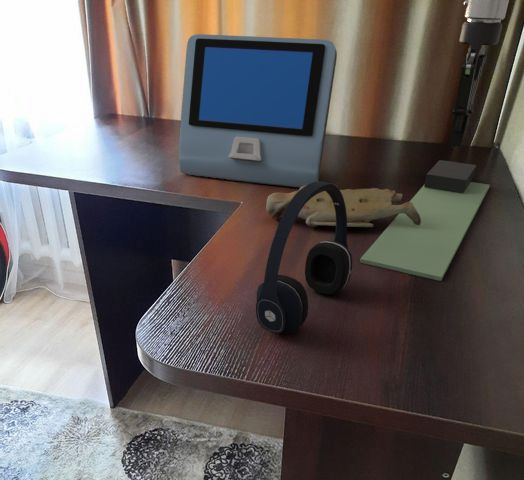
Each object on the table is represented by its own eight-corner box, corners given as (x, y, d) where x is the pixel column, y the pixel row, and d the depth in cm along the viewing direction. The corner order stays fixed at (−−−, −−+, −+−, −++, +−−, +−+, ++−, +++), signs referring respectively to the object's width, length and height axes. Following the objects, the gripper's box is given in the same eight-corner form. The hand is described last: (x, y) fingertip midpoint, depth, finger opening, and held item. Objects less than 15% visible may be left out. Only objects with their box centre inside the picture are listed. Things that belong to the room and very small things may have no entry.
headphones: (316, 277, 83) (326, 163, 73) (354, 288, 80) (371, 171, 70) (247, 332, 70) (246, 202, 59) (289, 348, 67) (297, 214, 56)
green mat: (489, 188, 123) (490, 184, 122) (441, 281, 83) (442, 277, 82) (431, 178, 128) (431, 175, 127) (359, 262, 88) (360, 258, 88)
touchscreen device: (176, 177, 125) (167, 34, 109) (207, 159, 141) (203, 32, 124) (314, 193, 117) (327, 41, 100) (330, 172, 133) (344, 38, 116)
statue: (413, 198, 104) (269, 214, 108) (416, 168, 98) (264, 186, 102) (421, 232, 98) (269, 248, 102) (426, 202, 93) (263, 219, 96)
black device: (476, 165, 125) (466, 180, 114) (473, 178, 126) (463, 194, 116) (439, 159, 128) (426, 174, 118) (436, 172, 130) (423, 187, 120)
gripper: (469, 18, 106) (444, 137, 120) (457, 21, 97) (431, 149, 111) (507, 20, 104) (476, 141, 117) (498, 23, 94) (467, 154, 108)
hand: (455, 145), depth 114 cm, fingers closed
